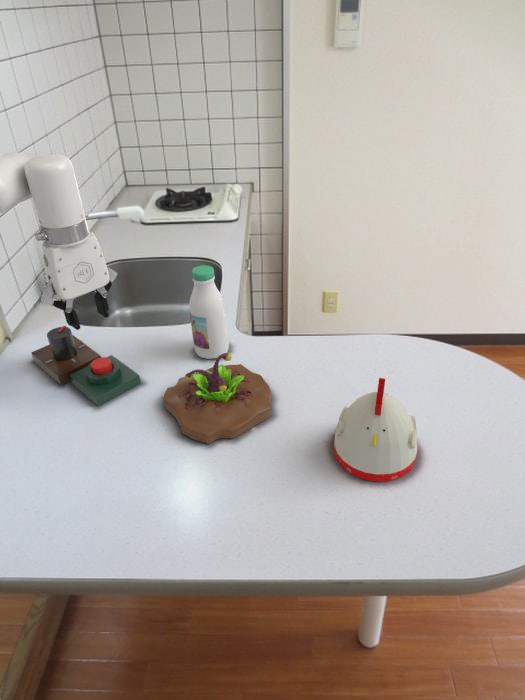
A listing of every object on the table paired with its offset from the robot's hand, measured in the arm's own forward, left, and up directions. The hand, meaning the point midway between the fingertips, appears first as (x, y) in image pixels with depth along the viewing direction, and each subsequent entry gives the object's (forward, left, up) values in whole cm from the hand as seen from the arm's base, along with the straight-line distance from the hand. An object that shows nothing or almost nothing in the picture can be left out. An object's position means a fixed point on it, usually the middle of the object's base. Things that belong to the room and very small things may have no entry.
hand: (89, 320), depth 101 cm
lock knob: (-13, -2, -13) cm, 18 cm away
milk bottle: (+7, +23, -16) cm, 29 cm away
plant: (+23, +12, -16) cm, 30 cm away
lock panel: (-13, -2, -15) cm, 20 cm away
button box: (0, 0, -15) cm, 15 cm away
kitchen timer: (+52, +22, -16) cm, 59 cm away
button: (0, 0, -12) cm, 12 cm away
